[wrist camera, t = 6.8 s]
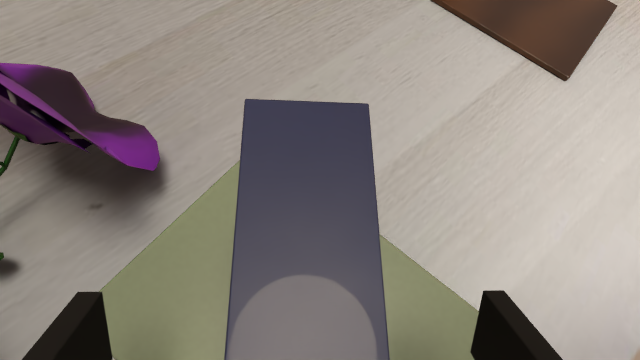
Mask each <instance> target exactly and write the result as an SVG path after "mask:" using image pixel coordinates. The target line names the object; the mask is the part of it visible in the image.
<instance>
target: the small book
mask: <svg viewBox="0 0 640 360" xmlns="http://www.w3.org/2000/svg"><path fill="white" fill-rule="evenodd" d="M224 360H390V357H389V345H388V333H387V320H386V308H385V296H384V284H383V272H382V260H381V248H380V236H379V224H378V212H377V200H376V187H375V175H374V163H373V151H372V139H371V127H370V115H369V105H368V104H363V103H337V102H311V101H285V100H259V99H245V105H244V118H243V130H242V143H241V155H240V168H239V180H238V193H237V205H236V218H235V230H234V243H233V256H232V268H231V281H230V293H229V306H228V318H227V331H226V343H225V356H224Z"/></svg>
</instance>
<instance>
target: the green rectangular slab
mask: <svg viewBox="0 0 640 360" xmlns="http://www.w3.org/2000/svg"><path fill="white" fill-rule="evenodd" d="M239 168H240V160H239V161H238V162H237V163H236V164H235V165H234V166H233V167H232V168H231V169H230V170H229V171H228V172H227V173H225V174H224V175H223V176H222V177H221V178H220V179H219V180H218V181H217V182H216V183H215V184H214V185H213V186H212V187H210V188H209V189H208V190H207V191H206V192H205V193H204V194H203V195H202V196H201V197H200V198H199V199H198V200H197V201H195V202H194V203H193V204H192V205H191V206H190V207H189V208H188V209H187V210H186V211H185V212H184V213H183V214H182V215H180V216H179V217H178V218H177V219H176V220H175V221H174V222H173V223H172V224H171V225H170V226H169V227H168V228H167V229H165V230H164V231H163V232H162V233H161V234H160V235H159V236H158V237H157V238H156V239H155V240H154V241H153V242H152V243H150V244H149V245H148V246H147V247H146V248H145V249H144V250H143V251H142V252H141V253H140V254H139V255H138V256H137V257H135V258H134V259H133V260H132V261H131V262H130V263H129V264H128V265H127V266H126V267H125V268H124V269H123V270H122V271H120V272H119V273H118V274H117V275H116V276H115V277H114V278H113V279H112V280H111V281H110V282H109V283H108V284H107V285H105V286H104V287H103V288H102V289H101V290H100V291H99V292H102V294H103V301H104V307H105V314H106V320H107V326H108V333H109V339H110V346H111V352H112V356H113V357H114V358H115V360H224V356H225V343H226V331H227V318H228V306H229V293H230V281H231V268H232V256H233V243H234V230H235V218H236V205H237V193H238V180H239ZM379 236H380V248H381V260H382V272H383V284H384V296H385V308H386V320H387V333H388V345H389V357H390V360H474V358H473V356H472V354H471V353H470V351H471V346H472V341H473V337H474V332H475V328H476V323H477V318H478V314H479V311H477V310H476V309H475V308H474V307H472V306H471V305H470V304H468V303H467V302H466V301H465V300H463V299H462V298H461V297H459V296H458V295H457V294H456V293H454V292H453V291H452V290H450V289H449V288H448V287H447V286H445V285H444V284H443V283H441V282H440V281H439V280H438V279H436V278H435V277H434V276H432V275H431V274H430V273H429V272H427V271H426V270H425V269H423V268H422V267H421V266H420V265H418V264H417V263H416V262H414V261H413V260H412V259H411V258H409V257H408V256H407V255H405V254H404V253H403V252H402V251H400V250H399V249H398V248H397V247H395V246H394V245H393V244H391V243H390V242H389V241H388V240H386V239H385V238H384V237H382V236H381V235H380V234H379Z"/></svg>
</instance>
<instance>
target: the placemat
mask: <svg viewBox="0 0 640 360" xmlns="http://www.w3.org/2000/svg"><path fill="white" fill-rule="evenodd" d="M432 1H433V2H435V3H437V4H438V5H440V6H442V7H443V8H445V9H447V10H448V11H450V12H452V13H453V14H455V15H457V16H458V17H460V18H462V19H463V20H465V21H467V22H468V23H470V24H472V25H473V26H475V27H477V28H478V29H480V30H482V31H483V32H485V33H487V34H488V35H490V36H492V37H493V38H495V39H497V40H498V41H500V42H502V43H503V44H505V45H506V46H508V47H510V48H511V49H513V50H515V51H516V52H518V53H520V54H521V55H523V56H525V57H526V58H528V59H530V60H531V61H533V62H535V63H536V64H538V65H540V66H541V67H543V68H545V69H546V70H548V71H550V72H551V73H553V74H555V75H556V76H558V77H560V78H561V79H563V80H565V81H567V80H568V79H569V77H570V76H571V74H572V73H573V71H574V70H575V68H576V67H577V65H578V64H579V62H580V61H581V60H582V58H583V57H584V55H585V54H586V52H587V51H588V49H589V48H590V46H591V45H592V43H593V42H594V40H595V39H596V37H597V36H598V34H599V33H600V31H601V30H602V28H603V27H604V25H605V24H606V22H607V21H608V19H609V18H610V16H611V15H612V13H613V12H614V10H615V9H616V8H617V5H615V4H613V3H611V2H610V1H608V0H432Z"/></svg>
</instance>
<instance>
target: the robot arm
mask: <svg viewBox="0 0 640 360" xmlns="http://www.w3.org/2000/svg"><path fill="white" fill-rule="evenodd" d="M470 353H471V354H472V356H473V358H474V360H562V358H561V357H560V356H559V355H558V354H557V352H556V351H555V350H554V349H553V348H552V347H551V345H550V344H549V343H548V342H547V341H546V340H545V338H544V337H543V336H542V335H541V334H540V333H539V331H538V330H537V329H536V328H535V327H534V325H533V324H532V323H531V322H530V321H529V320H528V318H527V317H526V316H525V315H524V314H523V313H522V311H521V310H520V309H519V308H518V307H517V305H516V304H515V303H514V302H513V301H512V300H511V298H510V297H509V296H508V295H507V294H506V293H505V291H483V295H482V300H481V304H480V309H479V314H478V318H477V323H476V328H475V332H474V337H473V341H472V346H471V351H470ZM22 360H112V352H111V346H110V339H109V333H108V326H107V320H106V314H105V307H104V301H103V294H102V292H78V293H77V294H76V295H75V296H74V297H73V299H72V300H71V301H70V302H69V303H68V305H67V306H66V307H65V308H64V309H63V311H62V312H61V313H60V314H59V315H58V317H57V318H56V319H55V320H54V321H53V323H52V324H51V325H50V326H49V328H48V329H47V330H46V331H45V332H44V334H43V335H42V336H41V337H40V338H39V340H38V341H37V342H36V343H35V344H34V346H33V347H32V348H31V349H30V350H29V352H28V353H27V354H26V355H25V356H24V358H23V359H22Z"/></svg>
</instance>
